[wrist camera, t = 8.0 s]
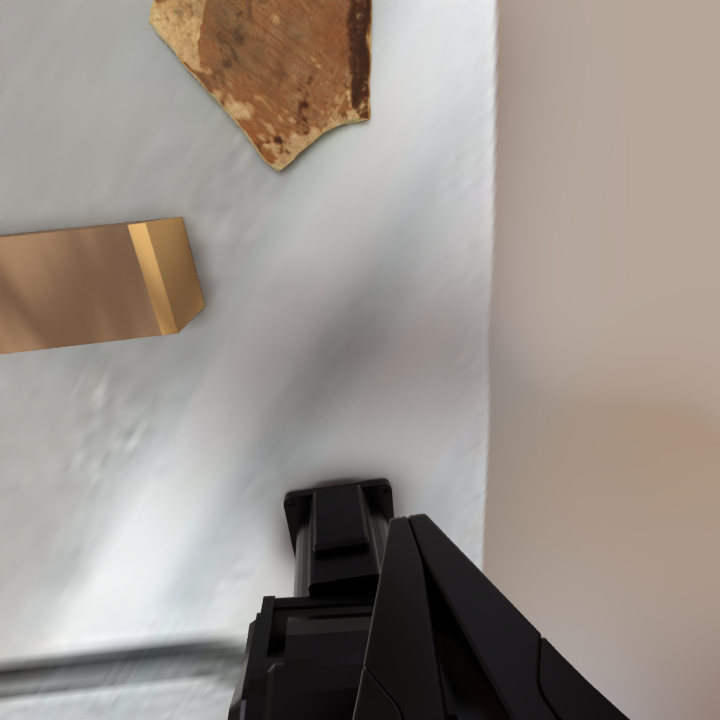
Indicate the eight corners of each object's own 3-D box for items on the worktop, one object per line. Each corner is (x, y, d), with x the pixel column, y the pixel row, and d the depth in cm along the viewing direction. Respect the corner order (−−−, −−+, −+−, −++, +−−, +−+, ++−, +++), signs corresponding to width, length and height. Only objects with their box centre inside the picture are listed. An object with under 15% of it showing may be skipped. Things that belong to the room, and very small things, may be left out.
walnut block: (178, 333, 15) (-72, 362, 14) (205, 305, 18) (8, 328, 18) (145, 223, 13) (-138, 251, 13) (182, 216, 17) (-36, 238, 16)
